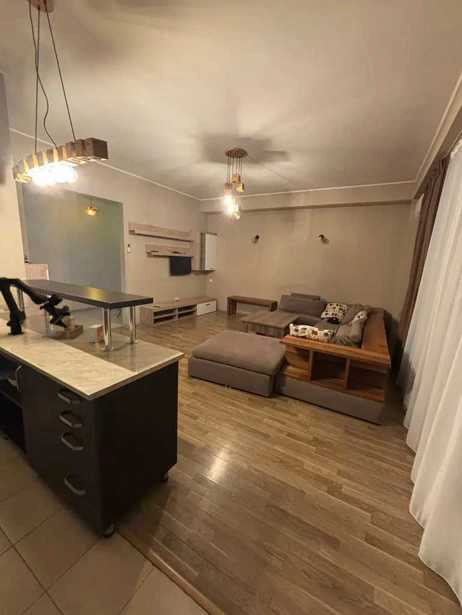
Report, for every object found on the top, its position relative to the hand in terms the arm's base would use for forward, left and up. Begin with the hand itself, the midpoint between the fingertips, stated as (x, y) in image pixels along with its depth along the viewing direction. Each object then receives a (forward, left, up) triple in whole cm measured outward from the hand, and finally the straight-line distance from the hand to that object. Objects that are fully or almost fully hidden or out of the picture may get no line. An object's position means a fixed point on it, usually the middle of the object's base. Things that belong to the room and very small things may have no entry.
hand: (70, 325), depth 173 cm
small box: (+24, -1, -7) cm, 25 cm away
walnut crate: (0, 0, -7) cm, 7 cm away
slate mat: (-9, -4, -7) cm, 12 cm away
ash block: (0, 0, -7) cm, 7 cm away
